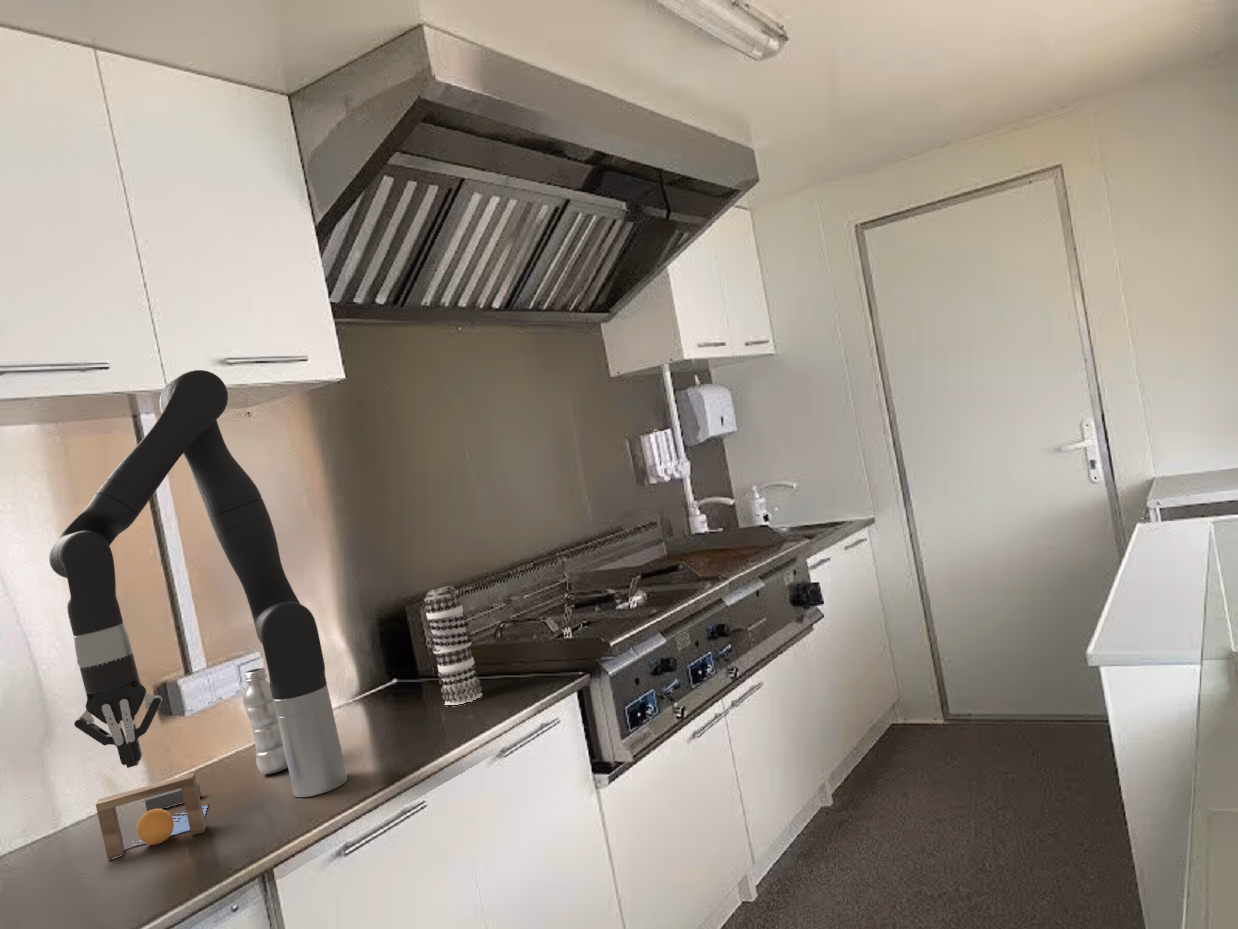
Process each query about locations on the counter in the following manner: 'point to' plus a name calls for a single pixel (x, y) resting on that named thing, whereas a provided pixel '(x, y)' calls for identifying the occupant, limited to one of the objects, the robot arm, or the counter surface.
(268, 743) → the plastic bottle
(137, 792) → the bridge
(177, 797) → the strip
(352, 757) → the counter surface
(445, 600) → the decorative candle
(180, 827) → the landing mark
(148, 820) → the ball
